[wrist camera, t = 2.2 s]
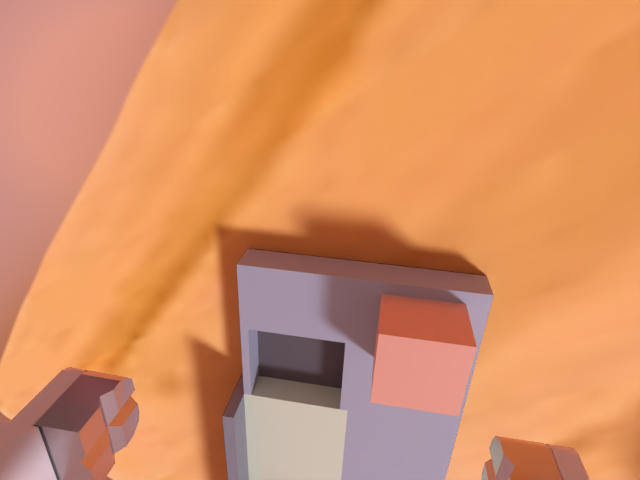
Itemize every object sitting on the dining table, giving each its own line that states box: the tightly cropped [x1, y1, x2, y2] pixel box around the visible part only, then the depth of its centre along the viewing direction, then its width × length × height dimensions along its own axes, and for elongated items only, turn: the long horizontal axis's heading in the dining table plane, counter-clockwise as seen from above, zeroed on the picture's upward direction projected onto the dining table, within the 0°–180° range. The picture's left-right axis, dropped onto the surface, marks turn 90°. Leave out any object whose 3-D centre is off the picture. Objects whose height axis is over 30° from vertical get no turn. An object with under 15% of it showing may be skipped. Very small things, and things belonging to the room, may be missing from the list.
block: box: [370, 294, 477, 416], centre depth 22 cm, size 4×4×4 cm
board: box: [222, 249, 494, 480], centre depth 30 cm, size 30×15×4 cm, turn 177°
